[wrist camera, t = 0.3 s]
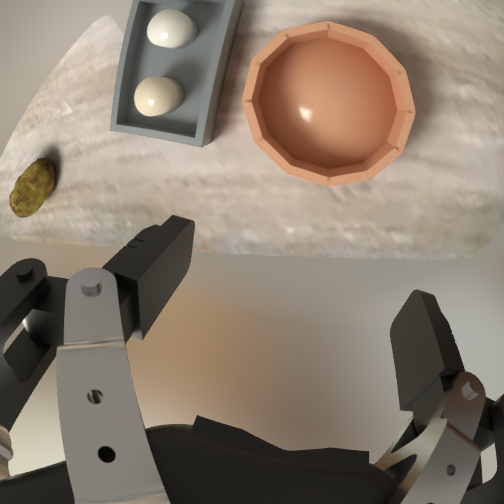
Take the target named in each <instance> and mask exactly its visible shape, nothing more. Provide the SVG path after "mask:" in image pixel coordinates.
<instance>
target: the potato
mask: <svg viewBox="0 0 504 504" xmlns="http://www.w3.org/2000/svg"><path fill="white" fill-rule="evenodd" d="M54 181H55V172H54V166H53V164H52V162H51V161H50V160H49V159H48V158H40V159H37V160H36V161H35V162H33V163H32V164H31V165H30V166H29V167H28V168H27V169H26V170H25V172H24V173H23V174H22V175H21V176H20V177H19V178H18V180H17V181H16V183H15V188H14V189H13V191H12V192H11V194H10V196H9V197H10V207H11V209H12V211H13V212H14V213H15V214H16V215H17V216H18V217H21V218H23V217H28V216H31V215H33V214H34V213H35V212H36V211H37V210H38V209H39V208H40V207H41V205H42V204H43V202H44V201H45V200H46V199H47V198H48V196H49V195H50V193H51V191H52V189H53V186H54Z"/></svg>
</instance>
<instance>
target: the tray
mask: <svg viewBox="0 0 504 504" xmlns="http://www.w3.org/2000/svg"><path fill="white" fill-rule="evenodd" d="M243 4H244V1H243V0H133V4H132V7H131V11H130V15H129V19H128V23H127V27H126V31H125V35H124V40H123V44H122V49H121V54H120V60H119V65H118V71H117V77H116V84H115V91H114V98H113V106H112V116H111V126H110V131H116V132H122V133H129V134H135V135H141V136H147V137H152V138H158V139H163V140H168V141H173V142H178V143H183V144H188V145H192V146H197V147H203V146H205V145H207V144H210V143H211V140H212V135H213V130H214V125H215V120H216V115H217V110H218V106H219V101H220V96H221V92H222V87H223V83H224V79H225V74H226V70H227V66H228V62H229V57H230V53H231V49H232V45H233V41H234V37H235V34H236V30H237V26H238V22H239V19H240V15H241V11H242V8H243ZM167 9H175V10H177V11H180V12H182V13H184V14H186V15H187V16H189V17H191V18H193V19H194V20H195V21H196V22H197V24H198V34H197V37H196V39H195V40H194V42H193V43H192V44H190V45H189V46H188V47H186V48H183V49H171V48H167V47H163V46H158V45H155V44H153V43H152V42H151V41H150V40H149V38H148V35H147V28H148V25H149V23H150V21H151V19H152V18H153V17H154V16H155V15H156V14H157V13H159V12H161V11H163V10H167ZM149 77H169V78H174V79H176V80H178V81H179V82H180V83H181V85H182V86H183V89H184V99H183V102H182V104H181V105H180V107H179V108H178V109H177V110H175V111H174V112H171V113H167V114H161V115H156V116H146V115H143V114H142V113H140V112H139V110H138V109H137V107H136V105H135V101H134V95H135V91H136V89H137V87H138V85H139V84H140V83H141V82H142V81H143V80H144V79H146V78H149Z"/></svg>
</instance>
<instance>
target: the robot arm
mask: <svg viewBox="0 0 504 504" xmlns="http://www.w3.org/2000/svg"><path fill="white" fill-rule="evenodd" d="M194 229H195V223H194V221H193V220H190V219H186V218H183V217H179V216H176V215H172V216H171V217H170V218H169V219H168V220H167V221H166V222H164V223H163V224H162V225H161V226H159V225H153V226H151V227H148V228H146V229H143V230H142V231H141V232H140V233H138V234H137V235H136V236H135V237H134V239H132V240H131V241H130V242H129V243H127V246H124V247H123V248H122V249H121V250H120V251H119V252H118V253H117V254H116V255H115V256H114V257H113V258H112V259H110V260H109V261H108V262H107V263H106V264H105V265H104V266H103V267H102V268H87V269H83V270H81V271H78V272H76V273H75V274H74V275H73V276H71V278H70V279H65V278H58V277H51V276H48V274H47V270H46V266H45V264H44V263H43V262H42V261H40V260H38V259H34V258H29V259H24V260H21V261H18V262H16V263H15V264H14V265H12V266H11V267H10V268H9V269H8V270H7V271H6V272H4V273H3V274H2V275H1V276H0V504H504V394H503V395H502V396H501V397H500V398H499V399H497V400H496V401H493V400H491V399H489V398H487V397H486V393H485V389H484V387H483V384H482V383H481V381H480V380H479V379H478V378H477V377H476V376H475V375H474V374H472V373H470V372H466V371H465V369H464V366H463V363H462V359H461V356H460V353H459V350H458V347H457V345H456V343H455V339H454V336H453V334H452V331H451V328H450V325H449V323H448V321H447V319H446V318H445V317H444V315H443V314H442V312H441V310H440V308H439V305H438V303H437V300H436V298H435V296H434V295H433V294H430V293H427V292H424V291H420V290H414V291H413V292H412V293H411V295H410V296H409V298H408V299H407V301H406V302H405V304H404V305H403V307H402V309H401V310H400V312H399V313H398V315H397V316H396V318H395V319H394V321H393V323H392V326H391V329H390V338H391V344H392V351H393V357H394V364H395V370H396V378H397V386H398V395H399V404H400V410H403V411H413V416H412V417H411V418H409V419H408V420H407V422H406V423H405V425H404V426H403V428H402V429H401V431H400V432H399V434H398V435H397V437H396V438H395V439H394V441H393V442H392V444H391V445H390V446H389V448H388V449H387V451H386V452H385V453H384V455H383V456H382V457H381V458H380V459H379V460H378V461H377V462H376V463H374V464H370V463H369V451H358V450H347V449H339V448H323V449H311V450H297V451H287V450H283V449H281V448H278V447H276V446H274V445H272V444H270V443H268V442H266V441H264V440H262V439H260V438H258V437H256V436H254V435H252V434H250V433H248V432H246V431H244V430H243V429H239V428H236V427H232V426H229V425H226V424H222V423H219V422H216V421H213V420H209V419H207V418H204V417H200V416H198V415H197V417H196V419H195V422H194V424H193V425H187V424H168V425H159V426H154V427H150V428H147V429H145V426H144V423H143V419H142V416H141V412H140V408H139V404H138V401H137V397H136V393H135V388H134V384H133V380H132V375H131V370H130V366H129V361H128V356H127V350H126V343H127V341H128V340H129V338H130V337H131V336H133V337H136V338H138V339H140V340H143V339H144V337H145V335H146V334H147V332H148V331H149V329H150V328H151V326H152V325H153V323H154V321H155V320H156V319H157V317H158V315H159V314H160V312H161V311H162V309H163V308H164V306H165V305H166V303H167V302H168V300H169V299H170V297H171V296H172V294H173V293H174V291H175V290H176V288H177V287H178V285H179V284H180V283H181V281H182V280H183V278H184V277H185V275H186V273H187V271H188V269H189V265H190V262H191V254H192V246H193V238H194ZM21 322H22V323H23V325H24V329H23V330H22V331H21V332H20V334H19V335H18V336H17V337H16V339H15V340H14V341H13V343H12V344H11V345H10V346H9V348H8V349H7V350H6V352H5V353H4V354H3V348H4V345H5V343H6V341H7V340H8V338H9V337H10V336H11V334H12V333H13V332H14V331H15V330H16V328H17V327H18V326H19V325H20V323H21ZM55 357H56V368H57V369H56V371H57V394H58V407H59V417H60V425H61V433H62V440H63V446H64V453H65V458H66V460H65V461H62V462H59V463H56V464H53V465H50V466H47V467H44V468H40V469H37V470H34V471H30V472H26V473H22V474H18V475H15V476H10V474H9V469H8V461H10V460H11V459H12V457H13V450H12V448H11V439H10V436H9V432H10V430H11V428H12V426H13V424H14V423H15V421H16V419H17V417H18V416H19V414H20V412H21V410H22V409H23V407H24V405H25V404H26V402H27V400H28V399H29V397H30V395H31V394H32V392H33V390H34V389H35V387H36V386H37V384H38V382H39V381H40V379H41V378H42V376H43V375H44V373H45V372H46V370H47V369H48V367H49V365H50V364H51V363H52V361H53V360H54V358H55ZM494 443H495V449H496V457H497V471H496V474H495V475H494V477H493V478H492V479H491V480H489V481H487V482H485V483H483V484H482V467H481V456H480V453H481V452H482V451H483V450H485V449H486V448H488V447H489V446H491V445H492V444H494Z"/></svg>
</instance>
